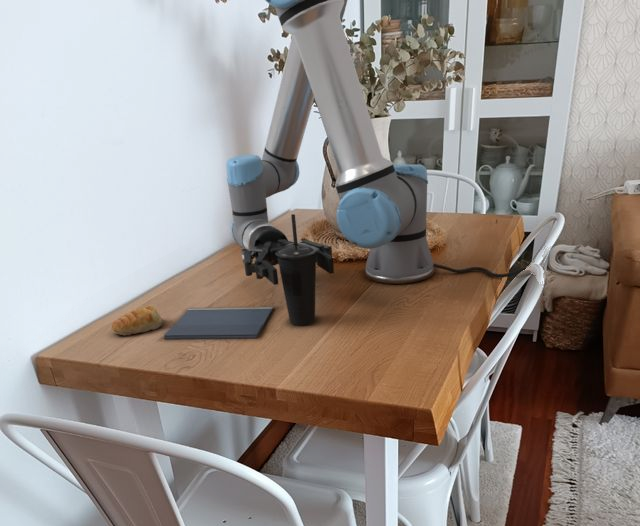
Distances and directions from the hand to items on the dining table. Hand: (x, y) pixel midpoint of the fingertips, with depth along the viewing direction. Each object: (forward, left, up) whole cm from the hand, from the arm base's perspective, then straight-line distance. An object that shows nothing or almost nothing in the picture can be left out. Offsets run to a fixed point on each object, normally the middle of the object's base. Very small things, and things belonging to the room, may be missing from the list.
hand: (304, 271), depth 110 cm
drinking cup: (+2, -4, -11) cm, 12 cm away
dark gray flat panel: (+18, -4, -11) cm, 22 cm away
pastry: (+34, -2, -11) cm, 36 cm away
